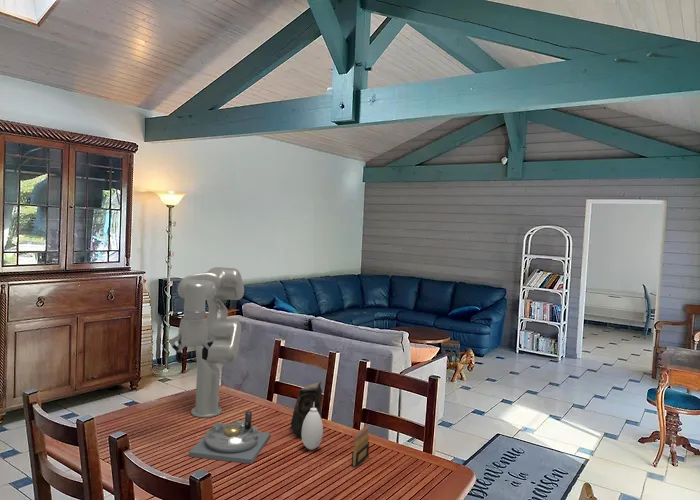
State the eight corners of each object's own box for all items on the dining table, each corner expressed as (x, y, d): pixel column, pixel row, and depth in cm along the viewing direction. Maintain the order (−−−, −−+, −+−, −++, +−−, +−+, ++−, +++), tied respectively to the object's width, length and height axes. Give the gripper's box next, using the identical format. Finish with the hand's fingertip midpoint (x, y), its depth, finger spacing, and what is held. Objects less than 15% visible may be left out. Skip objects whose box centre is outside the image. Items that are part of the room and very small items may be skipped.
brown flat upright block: (355, 467, 175) (358, 433, 175) (351, 466, 176) (353, 432, 176) (368, 456, 185) (370, 424, 184) (364, 454, 186) (366, 422, 185)
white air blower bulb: (309, 442, 193) (312, 396, 193) (325, 448, 189) (328, 401, 188) (296, 449, 187) (299, 401, 186) (312, 455, 182) (315, 406, 182)
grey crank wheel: (228, 458, 173) (229, 432, 172) (194, 441, 184) (195, 417, 184) (268, 441, 188) (269, 417, 187) (235, 426, 199) (236, 404, 199)
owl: (320, 427, 209) (323, 379, 208) (323, 439, 196) (326, 389, 196) (290, 426, 207) (293, 379, 206) (290, 439, 195) (293, 389, 194)
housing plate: (214, 430, 199) (214, 426, 199) (270, 437, 196) (270, 432, 196) (188, 456, 176) (188, 451, 176) (251, 463, 173) (251, 459, 173)
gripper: (212, 312, 196) (209, 356, 196) (167, 315, 185) (165, 360, 186) (220, 315, 190) (217, 360, 191) (174, 318, 179) (172, 365, 180)
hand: (191, 360), depth 188 cm, fingers open, 9 cm apart
